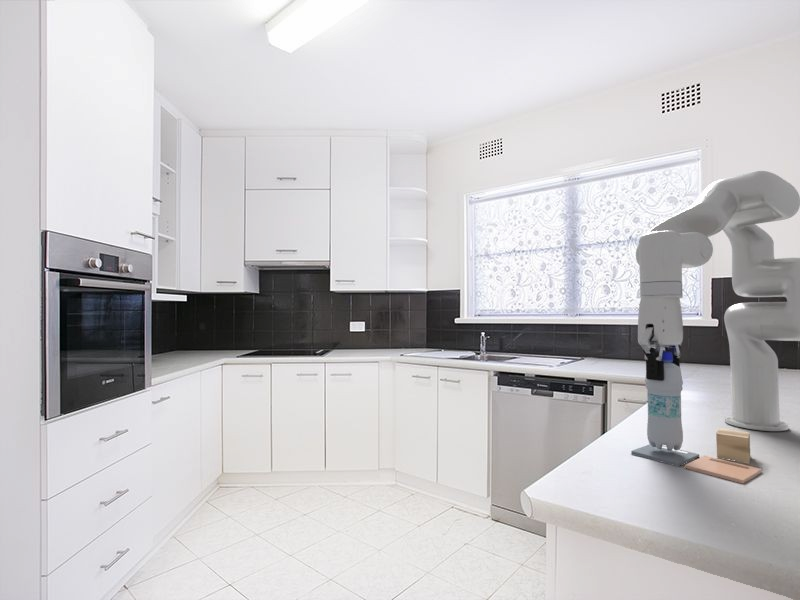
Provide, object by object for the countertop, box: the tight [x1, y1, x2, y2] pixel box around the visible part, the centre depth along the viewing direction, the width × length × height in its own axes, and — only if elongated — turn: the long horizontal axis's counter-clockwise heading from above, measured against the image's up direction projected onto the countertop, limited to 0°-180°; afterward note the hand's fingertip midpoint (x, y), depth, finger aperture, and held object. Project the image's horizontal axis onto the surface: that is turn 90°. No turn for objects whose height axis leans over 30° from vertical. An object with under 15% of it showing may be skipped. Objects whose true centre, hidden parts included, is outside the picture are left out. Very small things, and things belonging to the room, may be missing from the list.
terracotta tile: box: [684, 455, 763, 484], centre depth 79 cm, size 9×9×1 cm
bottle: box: [644, 350, 684, 451], centre depth 88 cm, size 7×7×20 cm
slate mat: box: [630, 444, 700, 467], centre depth 88 cm, size 9×9×1 cm
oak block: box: [715, 428, 752, 465], centre depth 86 cm, size 5×5×5 cm
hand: (663, 377), depth 88 cm, fingers closed on bottle, 6 cm apart
